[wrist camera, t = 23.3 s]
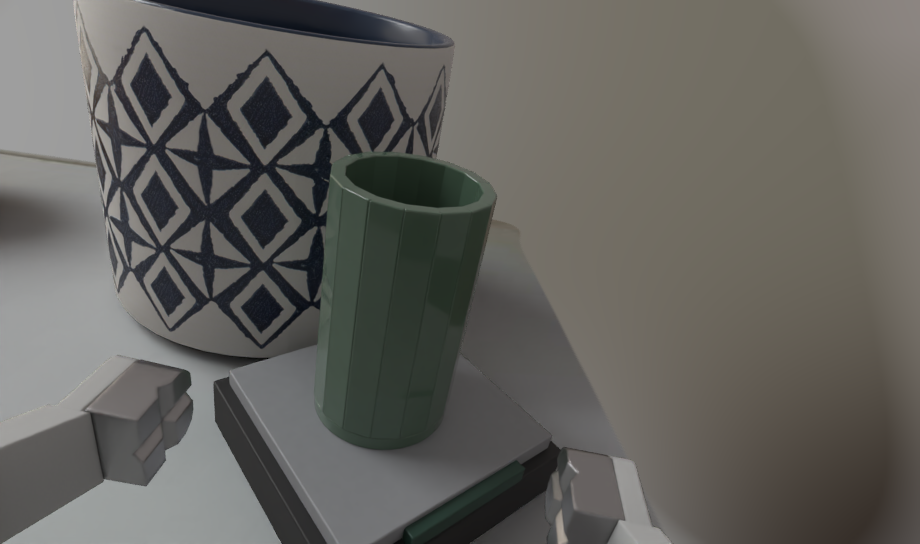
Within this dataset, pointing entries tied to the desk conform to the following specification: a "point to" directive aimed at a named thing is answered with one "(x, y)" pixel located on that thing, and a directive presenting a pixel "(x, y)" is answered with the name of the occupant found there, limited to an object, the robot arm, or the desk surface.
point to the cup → (396, 293)
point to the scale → (380, 461)
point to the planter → (242, 151)
